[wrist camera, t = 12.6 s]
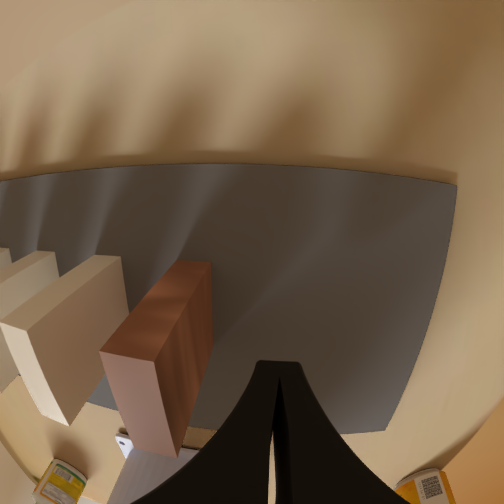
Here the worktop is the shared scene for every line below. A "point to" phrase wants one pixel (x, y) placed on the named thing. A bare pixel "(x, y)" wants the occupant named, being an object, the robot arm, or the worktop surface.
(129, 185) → the charcoal mat
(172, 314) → the terracotta domino
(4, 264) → the ivory domino
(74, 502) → the supplement bottle
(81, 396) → the ivory domino
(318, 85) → the worktop surface
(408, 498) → the beer can
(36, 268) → the ivory domino
